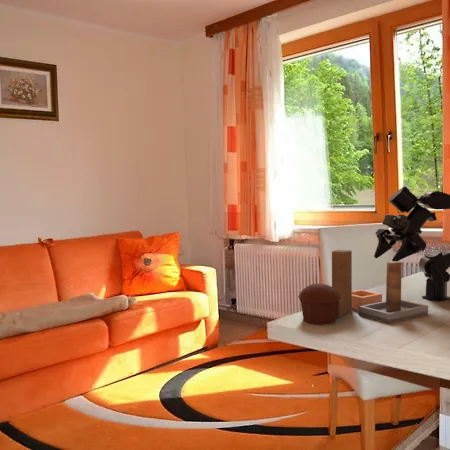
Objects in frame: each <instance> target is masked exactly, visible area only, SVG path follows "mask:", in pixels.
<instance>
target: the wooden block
mask: <svg viewBox="0 0 450 450" xmlns="http://www.w3.org/2000/svg"><path fill="white" fill-rule="evenodd" d="M352 257H353V255H352V250H351V249H350V250H349V249H335V250H332V251H331V287H332V288H334V289H335V290H336V291H337V292H338V293H339V295H340V297H341V299H340V301H339V305H338V311H337V317H336V318H340V317H341V316H344V315H346V314H347V313H349V312H352V291H353V290H352V289H353V288H352V286H353V285H352V280H353V275H352V273H353V272H352V270H353V269H352V267H353V266H352V265H353V262H352V259H353V258H352Z"/></svg>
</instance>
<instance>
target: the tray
mask: <svg viewBox="0 0 450 450" xmlns="http://www.w3.org/2000/svg"><path fill="white" fill-rule="evenodd" d="M427 315H429V305H428V304H426V305H425V304H423V303H418V302H412V301H408V300H405V299H401V310H400V311H396V312H391V313H390V312H387V311H386V300H382V302H378V303H373V304H368V305H363V306H359V310H358V316H362V317H366V318H368V319H372V320H376V321H380V322H383V323H386V324H393V323H397V322H402V321H405V320H409V319H414V318H418V317H419V318H420V317H423V316H427Z"/></svg>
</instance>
